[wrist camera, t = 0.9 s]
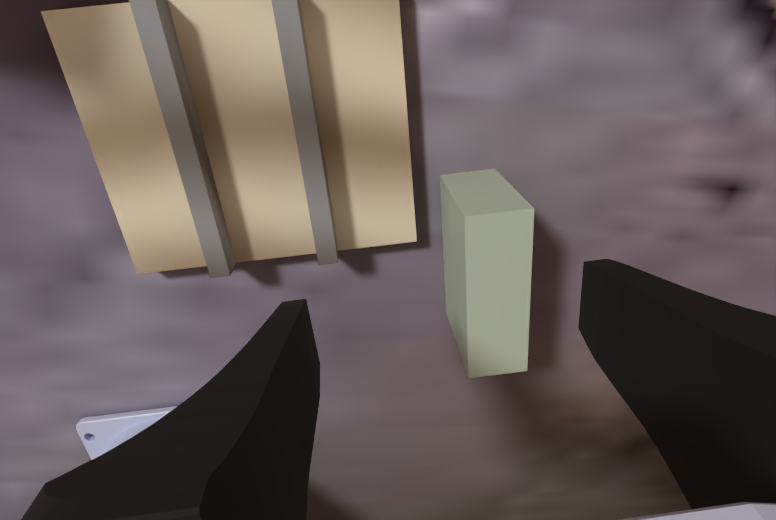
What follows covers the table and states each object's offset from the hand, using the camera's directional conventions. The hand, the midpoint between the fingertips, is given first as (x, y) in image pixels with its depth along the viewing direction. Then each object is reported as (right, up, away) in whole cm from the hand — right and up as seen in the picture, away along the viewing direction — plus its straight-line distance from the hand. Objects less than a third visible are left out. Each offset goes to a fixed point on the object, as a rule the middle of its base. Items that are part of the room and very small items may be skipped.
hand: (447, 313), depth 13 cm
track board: (-7, +6, +7) cm, 12 cm away
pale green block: (+2, +2, +10) cm, 10 cm away
